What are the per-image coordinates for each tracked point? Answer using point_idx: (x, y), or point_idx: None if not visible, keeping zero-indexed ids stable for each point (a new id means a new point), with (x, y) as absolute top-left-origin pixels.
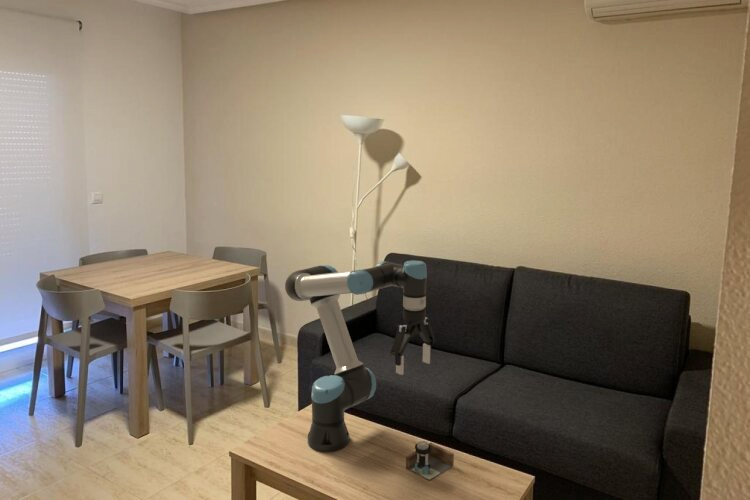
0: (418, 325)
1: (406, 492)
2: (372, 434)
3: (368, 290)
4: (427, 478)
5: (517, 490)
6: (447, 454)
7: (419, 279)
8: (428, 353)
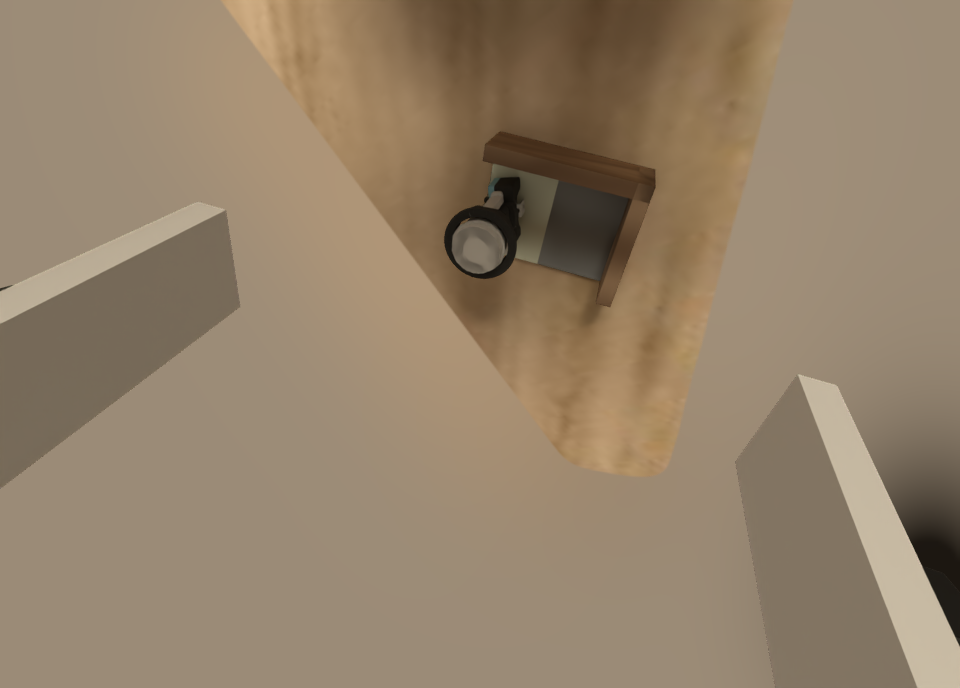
0: None
1: (380, 206)
2: None
3: None
4: None
5: (578, 459)
6: (602, 282)
7: None
8: (768, 616)
